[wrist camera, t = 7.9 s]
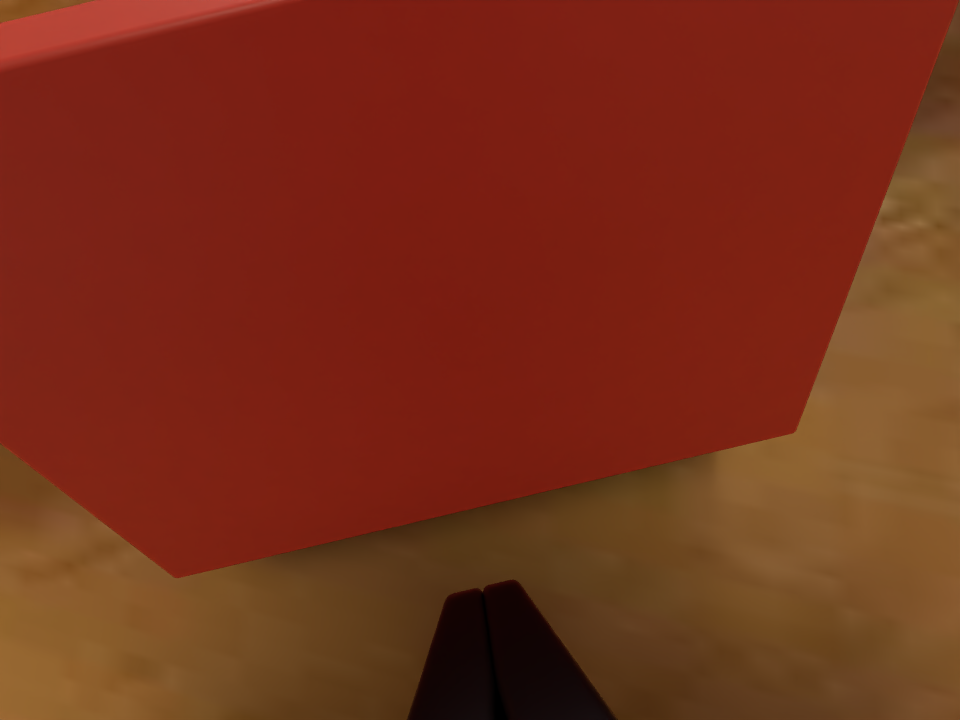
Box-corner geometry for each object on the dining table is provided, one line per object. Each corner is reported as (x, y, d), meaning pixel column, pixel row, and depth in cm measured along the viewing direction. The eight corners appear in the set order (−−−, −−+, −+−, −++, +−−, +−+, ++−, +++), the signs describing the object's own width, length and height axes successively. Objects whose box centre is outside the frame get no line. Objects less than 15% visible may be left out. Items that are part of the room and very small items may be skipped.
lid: (-342, 100, 7) (-383, 153, 7) (980, -215, 7) (1031, -182, 7) (176, 543, 16) (174, 580, 15) (779, 401, 16) (797, 434, 15)
